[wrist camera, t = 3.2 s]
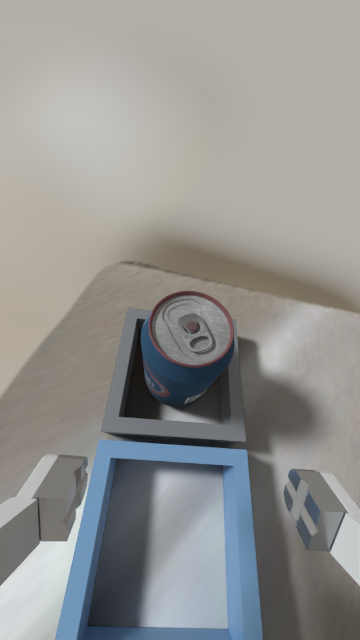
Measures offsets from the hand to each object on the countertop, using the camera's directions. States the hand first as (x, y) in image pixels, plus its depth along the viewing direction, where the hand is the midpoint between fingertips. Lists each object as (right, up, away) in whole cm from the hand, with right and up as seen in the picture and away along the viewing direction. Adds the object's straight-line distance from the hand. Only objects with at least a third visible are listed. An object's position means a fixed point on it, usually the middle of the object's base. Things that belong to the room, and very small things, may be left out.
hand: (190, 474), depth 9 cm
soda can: (-1, 0, +16) cm, 16 cm away
